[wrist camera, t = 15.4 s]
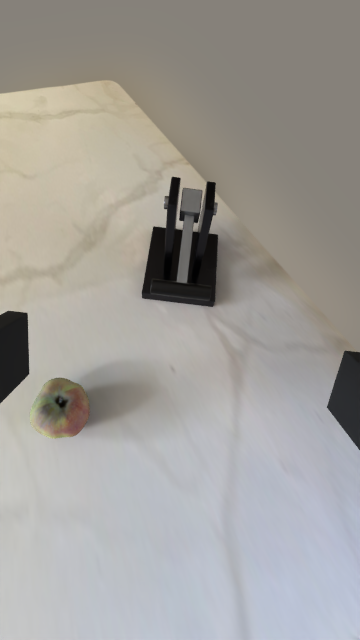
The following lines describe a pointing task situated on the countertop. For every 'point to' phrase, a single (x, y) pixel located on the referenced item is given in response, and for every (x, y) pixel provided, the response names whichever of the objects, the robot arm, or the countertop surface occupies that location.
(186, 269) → the lever
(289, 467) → the countertop surface
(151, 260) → the black lever stand
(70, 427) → the apple
